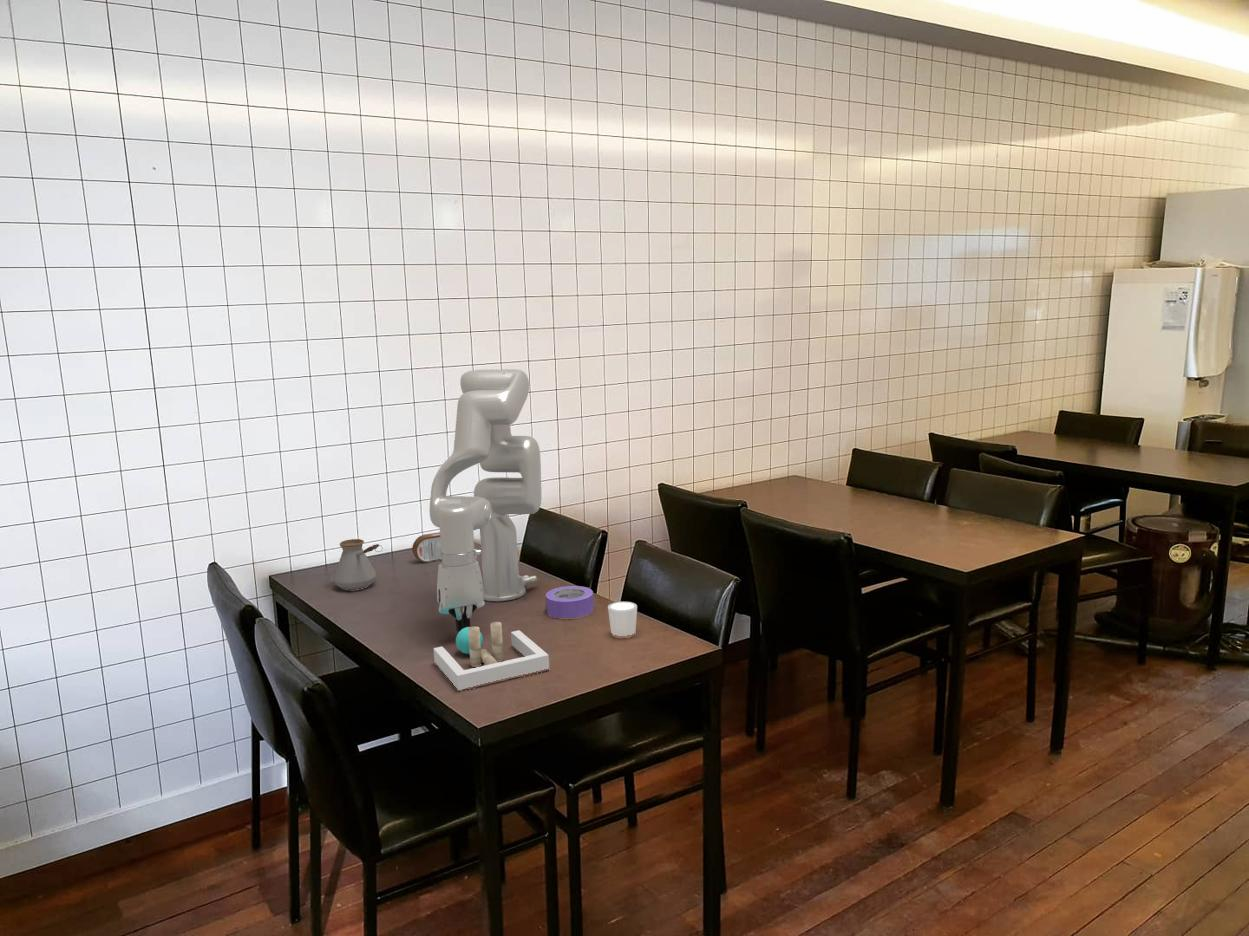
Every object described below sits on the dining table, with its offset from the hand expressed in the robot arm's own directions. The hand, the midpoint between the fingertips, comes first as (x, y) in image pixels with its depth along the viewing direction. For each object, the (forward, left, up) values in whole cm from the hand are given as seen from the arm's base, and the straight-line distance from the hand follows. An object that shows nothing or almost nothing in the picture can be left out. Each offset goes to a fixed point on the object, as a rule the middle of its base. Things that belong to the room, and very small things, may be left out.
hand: (463, 633), depth 216 cm
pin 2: (-2, +16, -2) cm, 16 cm away
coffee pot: (+12, -50, -2) cm, 51 cm away
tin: (-14, -67, -2) cm, 68 cm away
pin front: (0, +13, 0) cm, 13 cm away
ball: (+1, +9, +2) cm, 9 cm away
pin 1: (+3, +16, -2) cm, 16 cm away
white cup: (-33, +17, -2) cm, 37 cm away
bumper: (0, +18, -2) cm, 18 cm away
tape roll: (-29, -4, -2) cm, 29 cm away
